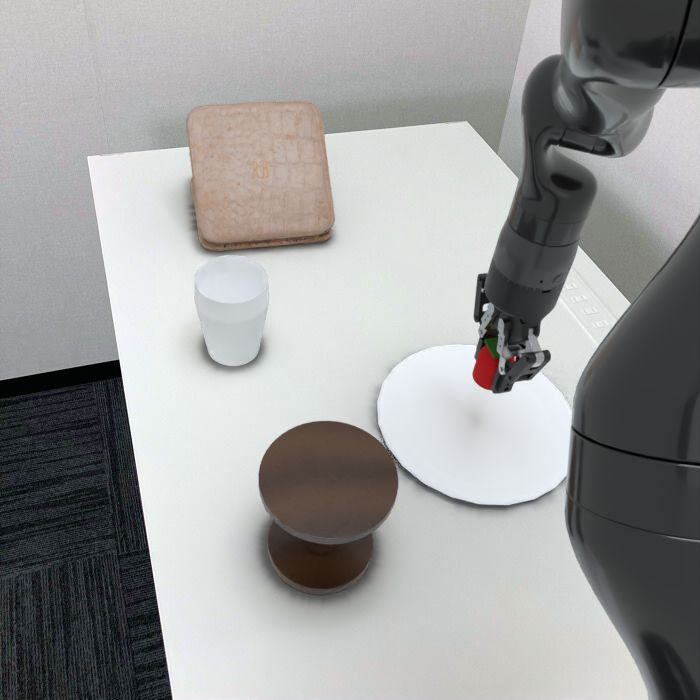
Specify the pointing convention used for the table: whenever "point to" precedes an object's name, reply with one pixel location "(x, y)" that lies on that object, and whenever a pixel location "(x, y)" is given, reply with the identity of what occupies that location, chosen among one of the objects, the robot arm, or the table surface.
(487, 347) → the strawberry
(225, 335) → the cup
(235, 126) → the case
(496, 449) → the plate
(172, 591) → the table surface
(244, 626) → the table surface
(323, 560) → the stand
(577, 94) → the robot arm
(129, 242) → the table surface
